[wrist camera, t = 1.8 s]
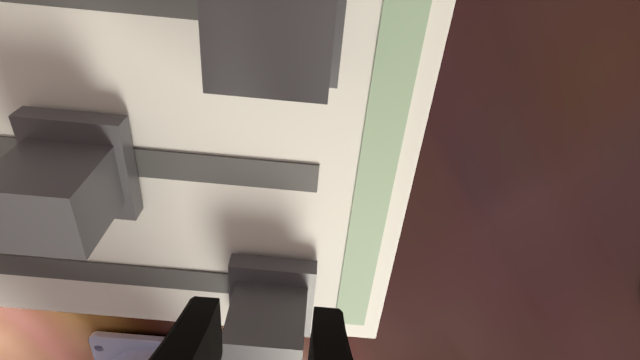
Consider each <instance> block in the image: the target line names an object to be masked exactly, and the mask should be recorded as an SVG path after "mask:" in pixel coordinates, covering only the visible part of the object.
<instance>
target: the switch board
mask: <svg viewBox="0 0 640 360" xmlns="http://www.w3.org/2000/svg"><path fill="white" fill-rule="evenodd" d="M455 1H456V0H347V5H346V14H345V23H344V32H343V41H342V50H341V59H340V68H339V77H338V86H337V88H329V94H328V104H327V105H326V104H315V103H304V102H293V101H282V100H271V99H260V98H250V97H239V96H228V95H217V94H206V93H203V86H202V71H201V55H200V40H199V25H198V10H197V0H0V158H1V157H2V156H4V155H5V154H6V153H7V152H8V151H10V150H11V149H12V148H13V147H14V146H16V145H17V141H16V138H15V135H14V132H13V129H12V126H11V123H10V120H9V117H8V116H9V115H10V114H12V113H13V112H14V111H16V110H17V109H19V108H20V107H21V106H30V107H41V108H52V109H63V110H74V111H85V112H96V113H107V114H118V115H128V118H129V124H130V130H131V136H132V142H133V148H134V154H135V160H136V166H137V172H138V178H139V183H140V189H141V195H142V201H143V207H144V208H143V210H142V212H141V213H140V215H139V217H138V218H137V220H136V221H133V220H121V219H114V220H113V222H112V223H111V225H110V226H109V228H108V229H107V231H106V232H105V234H104V235H103V237H102V238H101V240H100V241H99V243H98V244H97V246H96V247H95V249H94V250H93V252H92V253H91V255H90V256H89V258H88V259H87V261H85V260H74V259H62V258H51V257H39V256H27V255H16V254H4V253H0V307H10V308H22V309H34V310H45V311H57V312H69V313H81V314H93V315H104V316H116V317H128V318H140V319H151V320H163V321H175V322H176V320H177V319H178V317H179V316H180V314H181V313H182V311H183V310H184V308H185V306H186V305H187V303H188V302H189V300H190V299H191V298H192V297H194V296H199V297H211V298H220V312H221V325H222V326H224V324H225V320H226V316H227V313H228V309H229V285H228V264H229V261H230V257H231V254H232V253H236V254H248V255H259V256H271V257H282V258H294V259H305V260H317V261H318V262H317V277H316V286H315V295H314V304H313V310H314V306H316V307H328V308H339V309H340V310H341V311H342V312H343V316H344V323H345V328H346V333H347V336H352V337H363V338H376V334H377V330H378V326H379V321H380V317H381V313H382V309H383V304H384V300H385V296H386V292H387V288H388V283H389V279H390V275H391V271H392V267H393V262H394V258H395V254H396V250H397V246H398V241H399V237H400V233H401V229H402V224H403V220H404V216H405V212H406V208H407V203H408V199H409V195H410V191H411V187H412V182H413V178H414V174H415V170H416V166H417V161H418V157H419V153H420V149H421V145H422V140H423V136H424V132H425V128H426V123H427V119H428V115H429V111H430V107H431V102H432V98H433V94H434V90H435V86H436V81H437V77H438V73H439V69H440V65H441V60H442V56H443V52H444V48H445V43H446V39H447V35H448V31H449V27H450V22H451V18H452V14H453V10H454V6H455ZM312 319H313V313H312ZM311 328H312V322H311ZM310 333H311V331H310Z"/></svg>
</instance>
